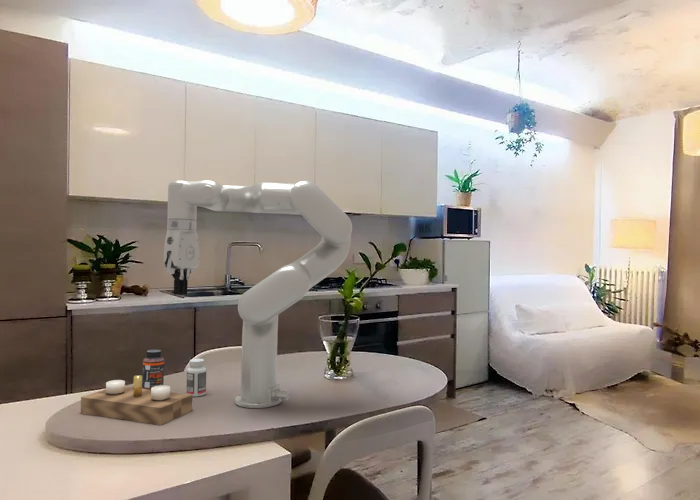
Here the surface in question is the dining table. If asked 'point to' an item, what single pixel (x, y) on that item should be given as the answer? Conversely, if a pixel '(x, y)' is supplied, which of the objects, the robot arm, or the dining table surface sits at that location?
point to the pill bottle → (196, 378)
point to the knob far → (115, 387)
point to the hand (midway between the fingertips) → (180, 294)
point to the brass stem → (137, 386)
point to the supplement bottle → (153, 370)
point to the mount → (136, 406)
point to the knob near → (160, 392)
